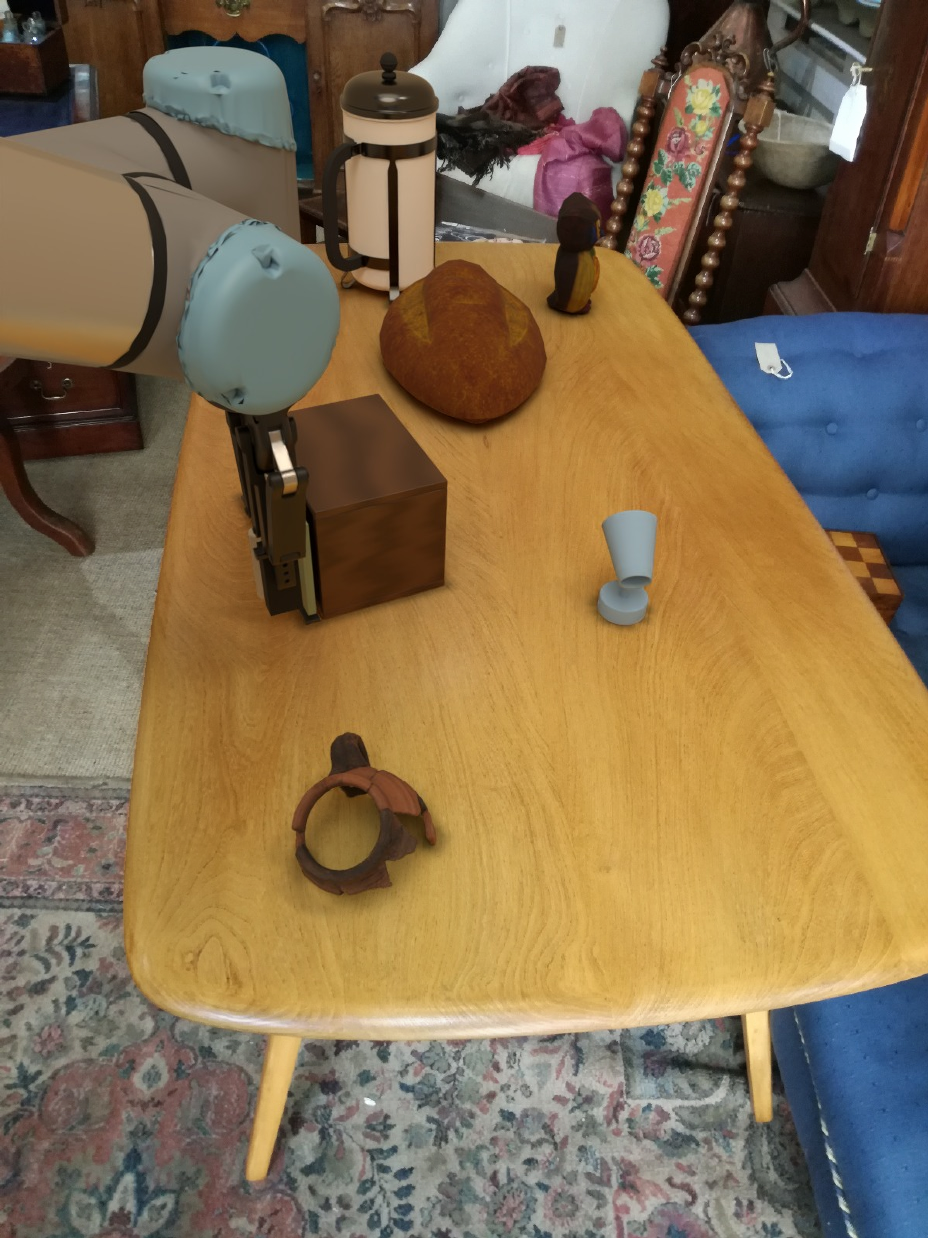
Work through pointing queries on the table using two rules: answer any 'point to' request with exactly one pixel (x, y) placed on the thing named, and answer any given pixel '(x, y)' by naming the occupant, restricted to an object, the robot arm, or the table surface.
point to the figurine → (576, 254)
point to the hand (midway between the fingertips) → (284, 606)
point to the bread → (463, 343)
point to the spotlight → (628, 565)
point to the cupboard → (368, 506)
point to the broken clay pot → (390, 799)
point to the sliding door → (304, 570)
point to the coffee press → (384, 179)
